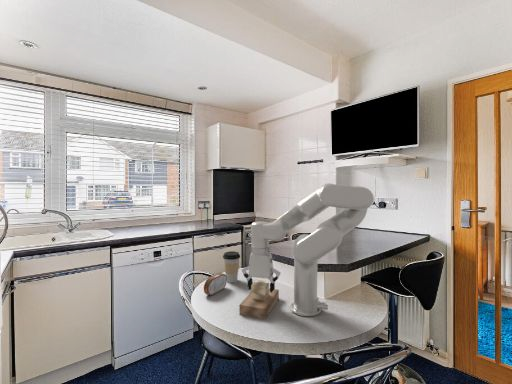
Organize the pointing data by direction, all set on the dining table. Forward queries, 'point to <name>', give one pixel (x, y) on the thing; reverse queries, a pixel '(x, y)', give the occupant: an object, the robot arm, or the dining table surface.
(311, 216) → the robot arm
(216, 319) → the dining table surface
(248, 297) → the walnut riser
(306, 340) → the dining table surface
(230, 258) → the coffee cup
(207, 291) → the tin
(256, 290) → the birch cube
